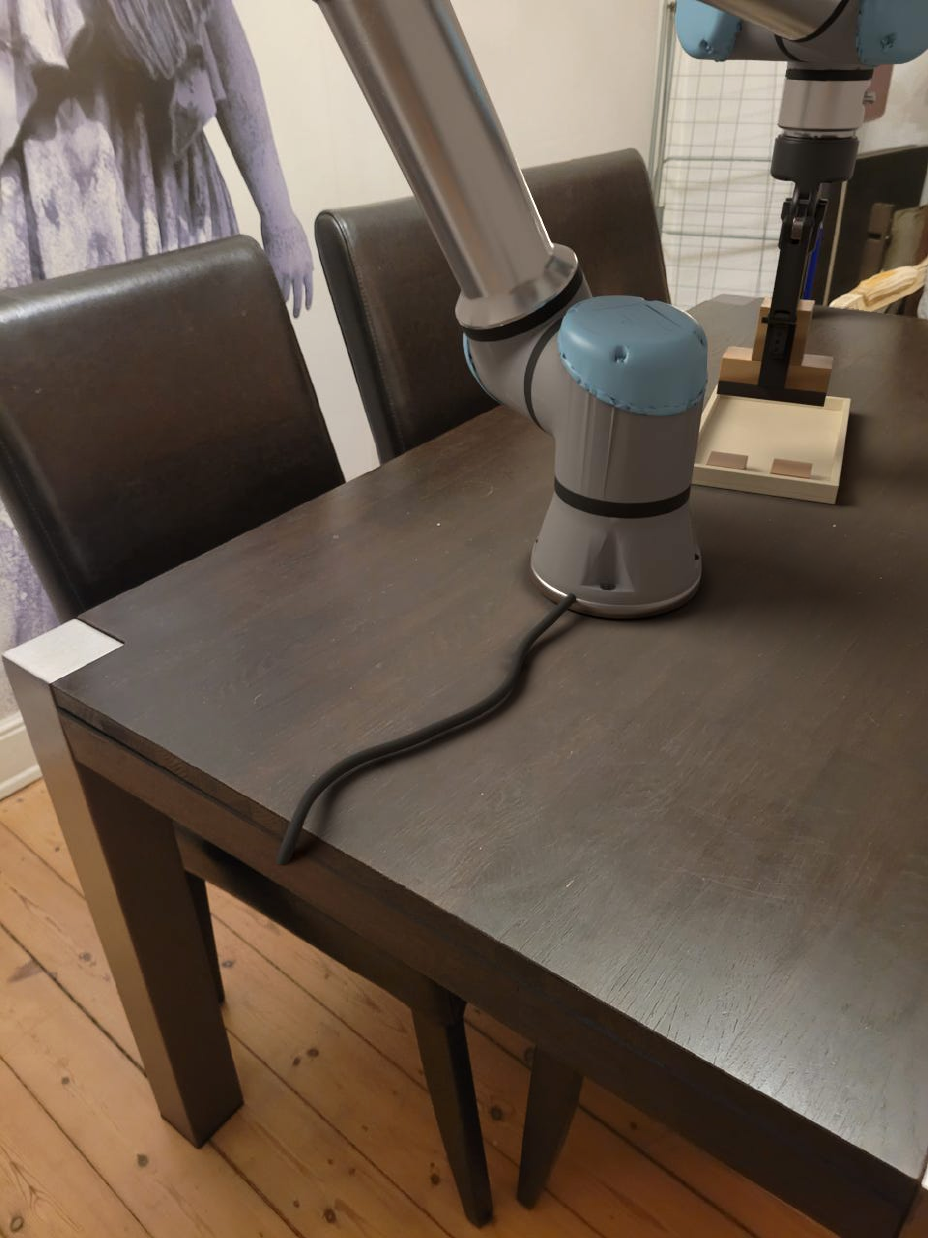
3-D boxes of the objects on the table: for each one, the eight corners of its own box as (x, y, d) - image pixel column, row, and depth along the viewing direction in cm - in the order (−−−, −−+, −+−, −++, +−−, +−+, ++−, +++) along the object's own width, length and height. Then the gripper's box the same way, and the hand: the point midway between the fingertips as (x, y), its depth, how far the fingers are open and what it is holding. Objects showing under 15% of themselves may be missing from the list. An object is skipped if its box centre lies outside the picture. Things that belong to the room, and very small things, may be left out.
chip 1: (741, 482, 99) (743, 469, 98) (703, 477, 101) (705, 464, 100) (746, 468, 102) (748, 455, 102) (709, 463, 104) (711, 450, 103)
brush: (823, 407, 96) (843, 313, 91) (716, 394, 99) (729, 303, 94) (826, 393, 99) (846, 303, 94) (722, 381, 103) (736, 293, 98)
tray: (834, 504, 96) (838, 485, 95) (674, 481, 101) (676, 463, 100) (847, 414, 117) (851, 398, 116) (714, 399, 122) (716, 383, 121)
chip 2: (807, 490, 97) (809, 477, 96) (767, 485, 99) (770, 472, 98) (810, 475, 100) (812, 463, 100) (772, 470, 102) (774, 458, 101)
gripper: (857, 143, 78) (803, 410, 90) (864, 125, 92) (816, 359, 104) (765, 140, 80) (725, 400, 93) (785, 123, 94) (748, 352, 107)
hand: (773, 378), depth 98 cm, fingers closed on brush, 4 cm apart
